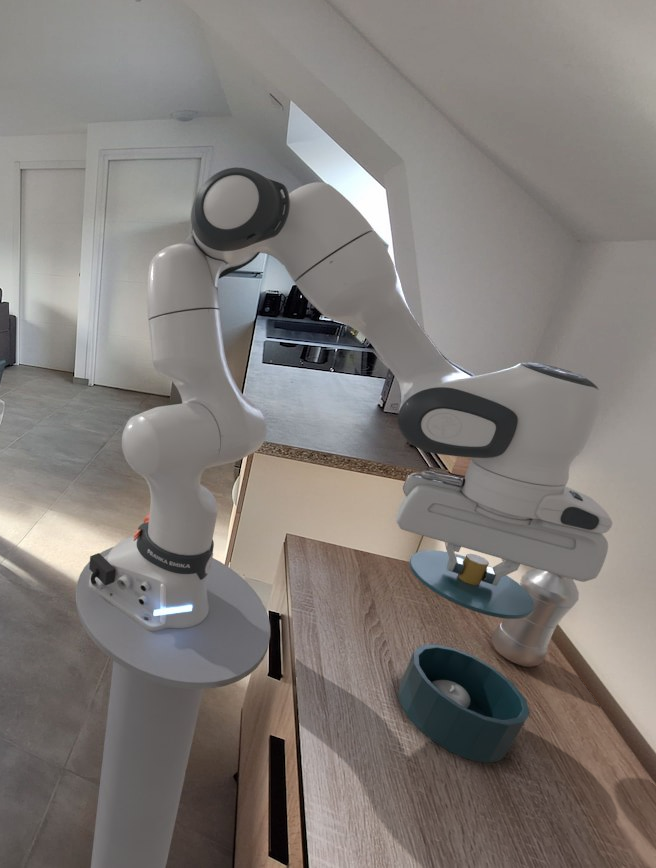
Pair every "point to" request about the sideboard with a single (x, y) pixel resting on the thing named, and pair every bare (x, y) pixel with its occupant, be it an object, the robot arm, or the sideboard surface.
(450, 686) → the pale two-lobed sculpture
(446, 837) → the sideboard surface
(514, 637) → the silver bottle
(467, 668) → the tin
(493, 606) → the tin lid
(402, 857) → the sideboard surface
